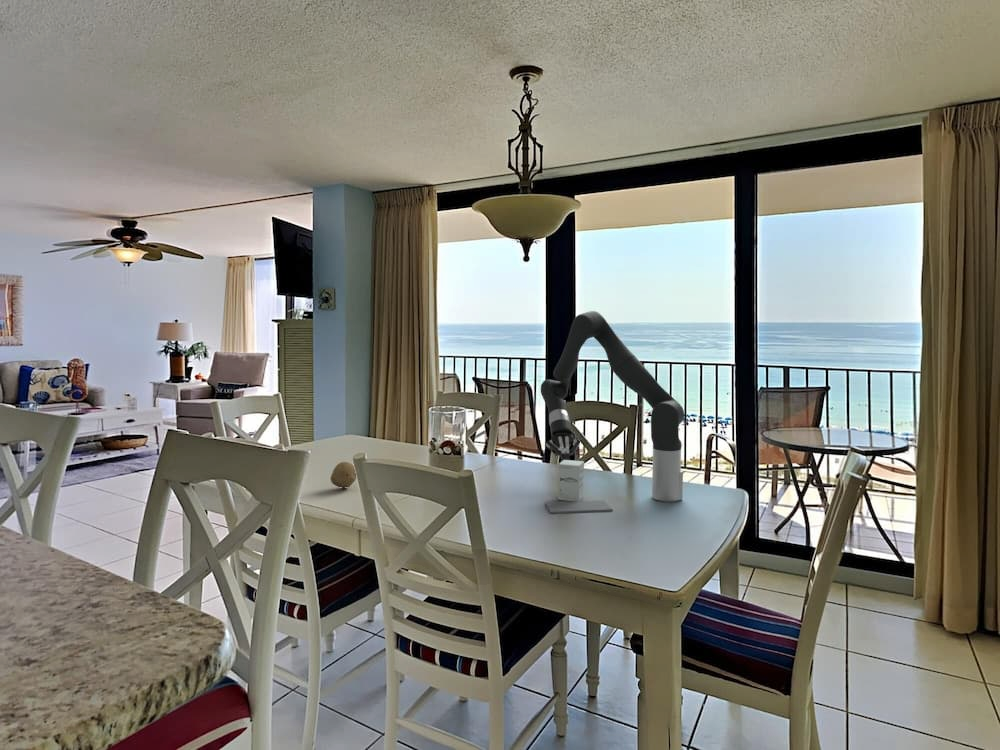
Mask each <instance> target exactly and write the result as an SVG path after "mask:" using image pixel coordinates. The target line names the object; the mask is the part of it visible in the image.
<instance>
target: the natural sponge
mask: <svg viewBox="0 0 1000 750" xmlns="http://www.w3.org/2000/svg"><path fill="white" fill-rule="evenodd" d="M354 467H355V465H353V464H352V463H351V462H347V461H342V462H339V463H338V464H336V466H335V467H334V468H333V470H332V473H331V475H330V482H331V484H333V486H335V487H338V488H339V487H342V488H345V487H348V488H349V487H350V486H352V484H353V483H355V482H356V480H357V477H356V473H355V469H356V468H355V469H354Z"/></svg>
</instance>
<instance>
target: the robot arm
mask: <svg viewBox="0 0 1000 750" xmlns="http://www.w3.org/2000/svg"><path fill="white" fill-rule="evenodd" d="M592 338H594V339H595V340H596V341H597V342H598V343H599V344H600V345H601V347H602V349H604V351H605V354H606V357H607V360H608V361H607V362H608V364H609V367H610V369H611V371H613V373H614V374H615V375H616V377H617V378H619V380H620V381H621V382H622V383H623V384H624V385H625V386H626V387H627V388H628V389H630V390H631V391H633V392H634V393H635V394H637V395H639V396H640V397H642V398H643V399H644V400H645V401H646V402H647V404H648V405H649V406H650V407H651V416H650V437H651V439H650V440H651V441H652V473H651V474H652V476H651V477H652V480H651V482H652V483H651V495H652V496H651V497H652V499H653V500H656V501H660V502H667V503H668V502H670V503H672V502H673V503H674V502H678V501H683V497H684V496H683V492H684V491H683V487H684V485H683V484H684V472H683V471H682V470H681V469H682V467H681V466H682V462H681V461H682V440H680V437H679V436H680V435H679V432H680V431H679V427H680V426H679V425H681V424H682V422H683V421H684V419H685V412H684V411H685V410H684V408H683V406H682V405H681V403H680V402H678V400H676V399H675V398H674V397H673V396H672V395H670V394H669V393H668V391H666V390H665V389H664V387H662V386H661V385H660V383H659V382H658V381H657V380H656V379H655V377H654V376H653V375H652V374H651V373H650V371H649V370H648V369H647V368H646V366H644V365H643V364H642V362H641V361H640V360H639V359H638V358H637V356H636V355H635V354H634V353H633V352H632V351H631V350H630V349H629V348H628V346H627V345H625V343H624V342H623V341H622V340H621V338H619V336H618V335H617V334H616V333H615V331H614V330H613V328H612V327H611V326H610V324H609V323H608V321H607V320H606V319H605V318H604V316H603V315H602V314H601V313H600V312H598V311H596V310H595V311H594V310H590V311H586V312H583V313H580V314H577V315H576V316H575V318H574V319H573V321H572V323H571V325H570V329H569V332H568V336H567V338H566V339H567V340H566V343H565V345H564V348H563V351H562V353H561V355H560V358H559V360H558V362H557V364H556V366H555V367H554V369H553V372H552V373H553V374H552V376H553V377H554V379H545V380H543V381H542V383H541V385H540V394H541V397H542V399H543V401H544V403H545V406H546V407H547V410H548V424H549V427H550V428H549V429H550V435H551V437H550V440H547V441H546V443H545V447H546V448H547V450H550V452H551V453H552V454H554V455H555V456H556V457H558V456H559V457H560V459H561V461H560V462H562V461H563V460H571V458H570V456H573V455H574V454H575V452H576V451H577V450H578V448H579V446H580V445H581V440H577V439H576V438H575V437H574V435H573V433H572V427H571V420H570V416H569V414H568V409H567V408H568V407H567V403H566V401H565V400H564V399H565V398H566V397H567V396H568V393H569V392H568V391H569V389H570V388H569V387H570V382H571V379H572V377H573V374H574V373H575V372H576V370H577V367H578V364H579V355H580V351H581V349H582V348H583V346H584V344H585V343H586V342H587V340H589V339H592ZM571 445H573V446H572V448H571V449H570V447H571Z"/></svg>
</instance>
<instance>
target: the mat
mask: <svg viewBox="0 0 1000 750" xmlns="http://www.w3.org/2000/svg"><path fill="white" fill-rule="evenodd" d="M544 504H545V506H546V508H547V510H548V512H549V513H550V514H552V515H553V514H570V513H571V514H573V513H575V514H576V513H596V512H598V513H599V512H601V513H602V512H613V511H614V509H613V508H612V507H611V506H610V504H608V502H607V501H606V500H604V499H599V500H598V499H596V500H580V501H546V502H544Z"/></svg>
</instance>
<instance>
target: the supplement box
mask: <svg viewBox="0 0 1000 750" xmlns="http://www.w3.org/2000/svg"><path fill="white" fill-rule="evenodd" d="M584 474H585V461H583V460H581V461H580V460H571V459H570V460H563V461H560V462H559V464H558V492H557V494H558V497H557V498H558V501H565V502H567V501H582V499H583V497H584V491H585V490H584V488H585V484H584V483H585V481H584V480H585V479H584V478H585V477H584V476H585V475H584Z"/></svg>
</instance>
